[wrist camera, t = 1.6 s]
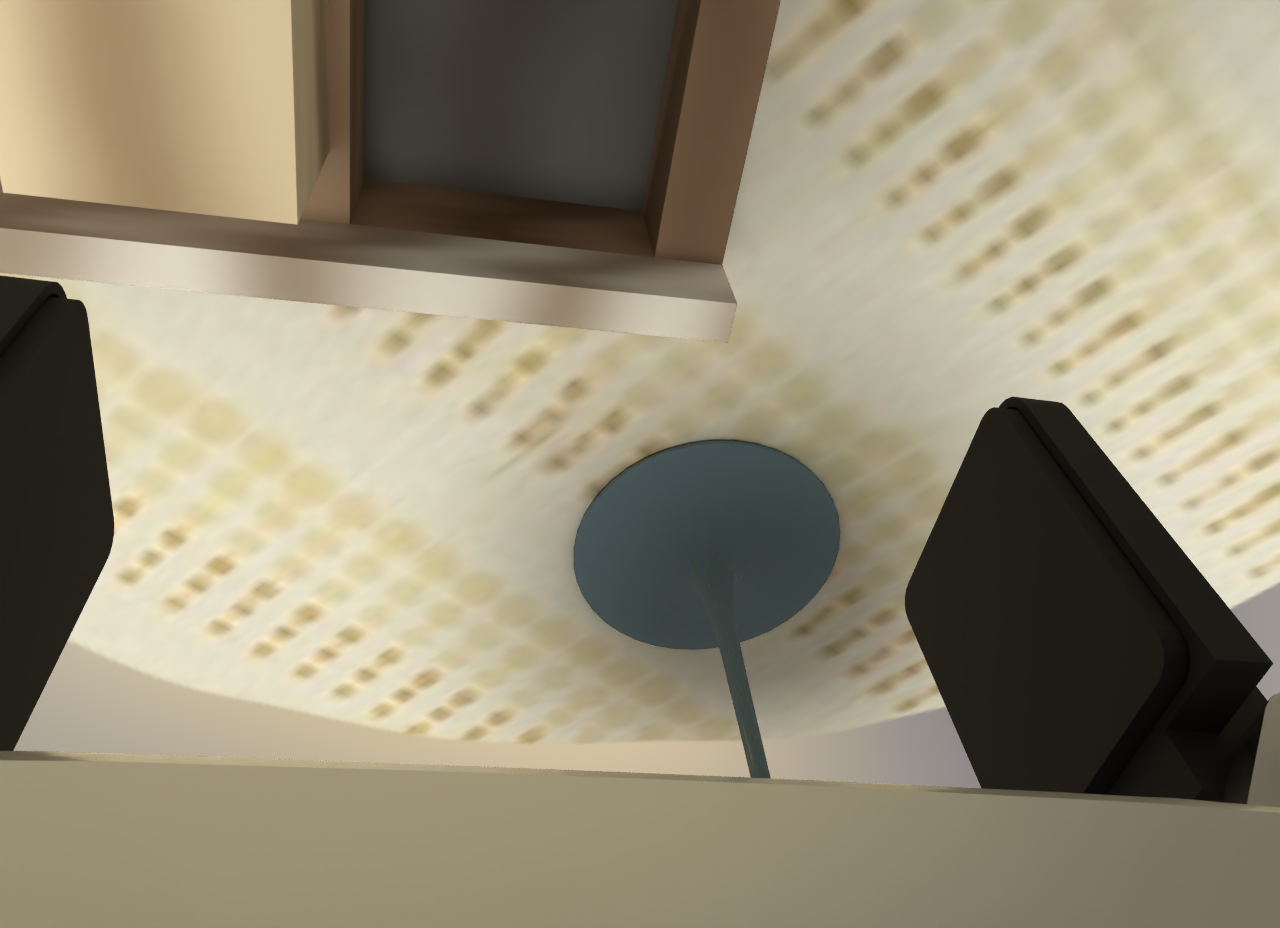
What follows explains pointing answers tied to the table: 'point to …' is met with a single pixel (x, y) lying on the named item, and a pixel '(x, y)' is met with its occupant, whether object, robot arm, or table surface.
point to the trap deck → (480, 173)
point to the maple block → (166, 103)
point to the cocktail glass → (708, 554)
